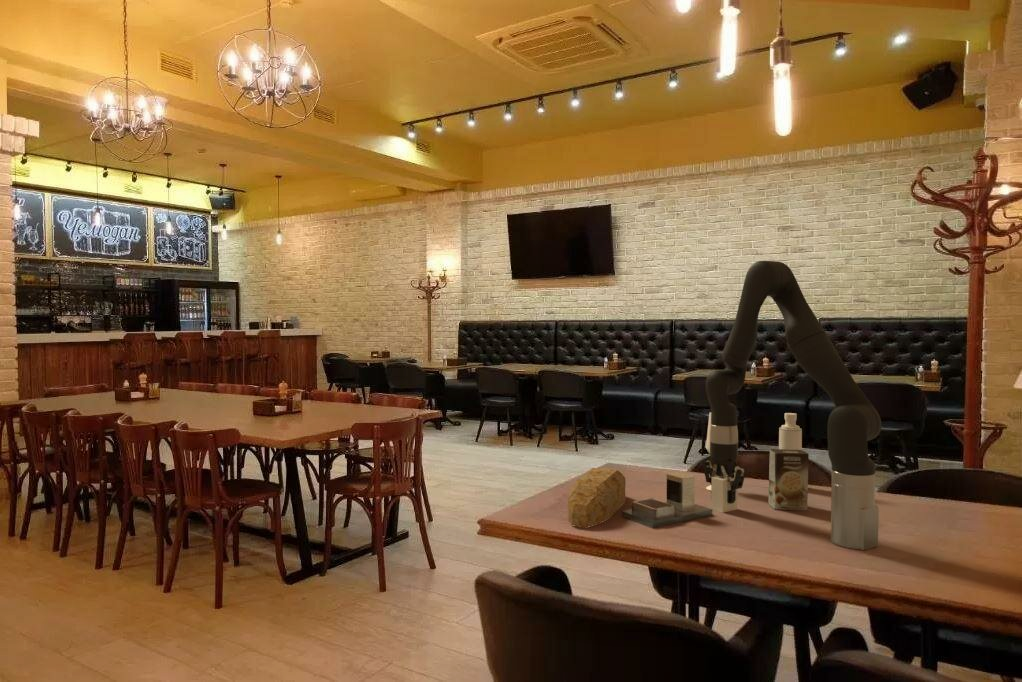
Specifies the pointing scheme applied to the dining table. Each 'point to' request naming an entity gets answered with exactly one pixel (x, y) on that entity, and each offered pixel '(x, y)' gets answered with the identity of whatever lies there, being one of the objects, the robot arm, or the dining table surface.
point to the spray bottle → (790, 433)
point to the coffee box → (788, 479)
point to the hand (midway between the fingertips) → (723, 500)
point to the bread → (595, 497)
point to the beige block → (721, 495)
